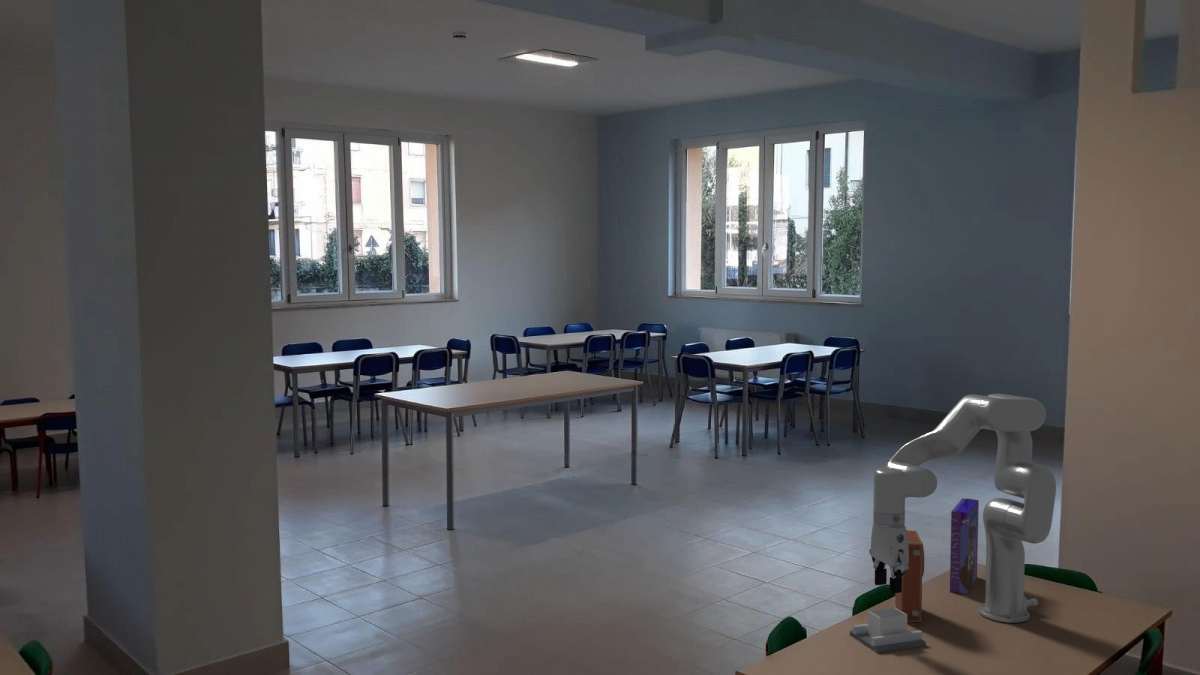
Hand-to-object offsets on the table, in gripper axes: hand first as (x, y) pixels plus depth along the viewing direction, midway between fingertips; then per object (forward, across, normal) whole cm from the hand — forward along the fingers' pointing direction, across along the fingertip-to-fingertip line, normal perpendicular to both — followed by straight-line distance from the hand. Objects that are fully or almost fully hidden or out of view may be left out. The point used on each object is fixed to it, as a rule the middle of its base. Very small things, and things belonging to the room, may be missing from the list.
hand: (887, 587), depth 235 cm
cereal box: (+14, +29, -46) cm, 56 cm away
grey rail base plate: (+14, 0, 0) cm, 14 cm away
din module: (+13, 0, 0) cm, 13 cm away
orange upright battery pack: (+14, +14, -16) cm, 25 cm away
